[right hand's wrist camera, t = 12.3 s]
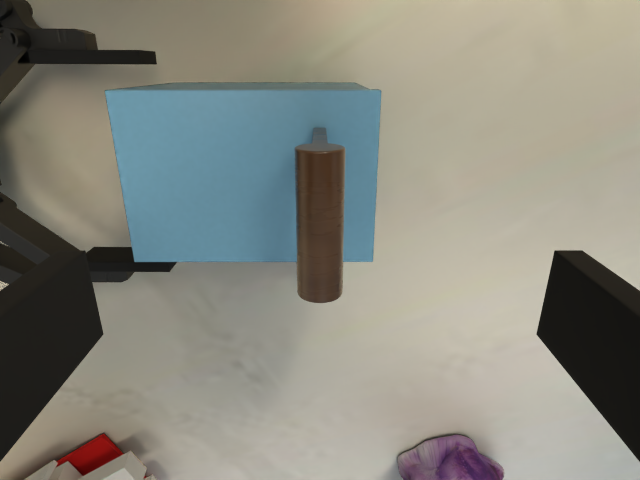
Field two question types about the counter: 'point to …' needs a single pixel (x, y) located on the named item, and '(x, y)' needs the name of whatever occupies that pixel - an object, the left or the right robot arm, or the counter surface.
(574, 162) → the counter surface
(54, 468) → the toy
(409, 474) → the figurine
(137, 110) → the lid
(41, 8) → the counter surface
